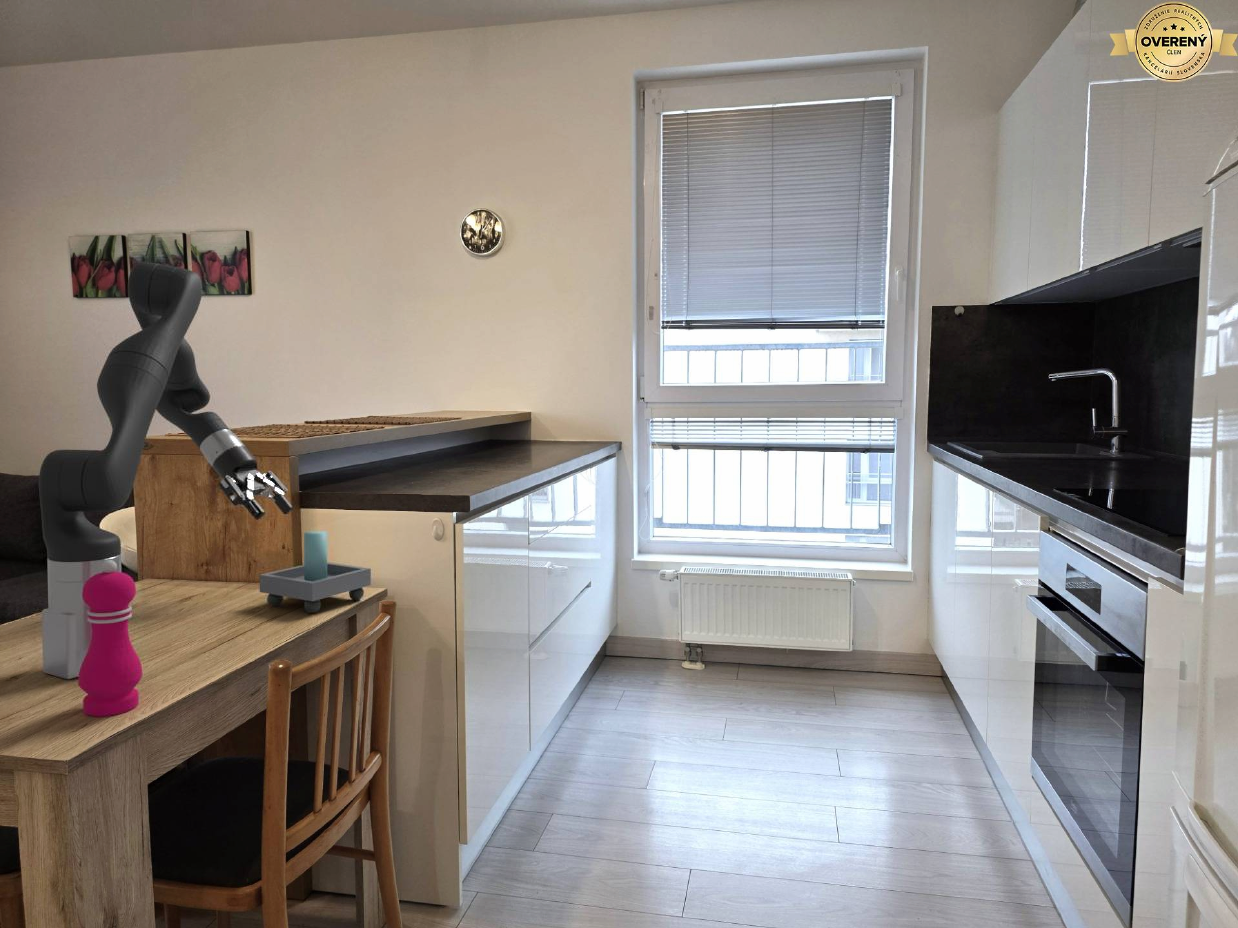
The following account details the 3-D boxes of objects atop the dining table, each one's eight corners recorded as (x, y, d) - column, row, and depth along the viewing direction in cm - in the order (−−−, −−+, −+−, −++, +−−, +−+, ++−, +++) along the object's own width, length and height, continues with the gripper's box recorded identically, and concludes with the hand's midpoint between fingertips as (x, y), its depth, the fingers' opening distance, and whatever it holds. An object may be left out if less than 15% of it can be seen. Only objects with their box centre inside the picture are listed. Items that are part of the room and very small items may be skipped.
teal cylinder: (315, 584, 160) (315, 535, 159) (299, 582, 161) (299, 533, 160) (332, 580, 164) (331, 532, 163) (315, 577, 165) (315, 530, 164)
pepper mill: (67, 711, 105) (63, 561, 103) (122, 694, 111) (120, 553, 110) (98, 722, 101) (96, 568, 100) (154, 704, 108) (152, 559, 106)
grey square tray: (312, 616, 153) (312, 583, 152) (259, 606, 158) (259, 574, 158) (370, 599, 167) (370, 568, 167) (320, 590, 173) (320, 561, 172)
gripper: (213, 445, 158) (263, 506, 156) (262, 442, 172) (308, 498, 170) (191, 470, 160) (240, 531, 158) (242, 465, 174) (287, 521, 172)
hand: (275, 514), depth 164 cm, fingers open, 8 cm apart
